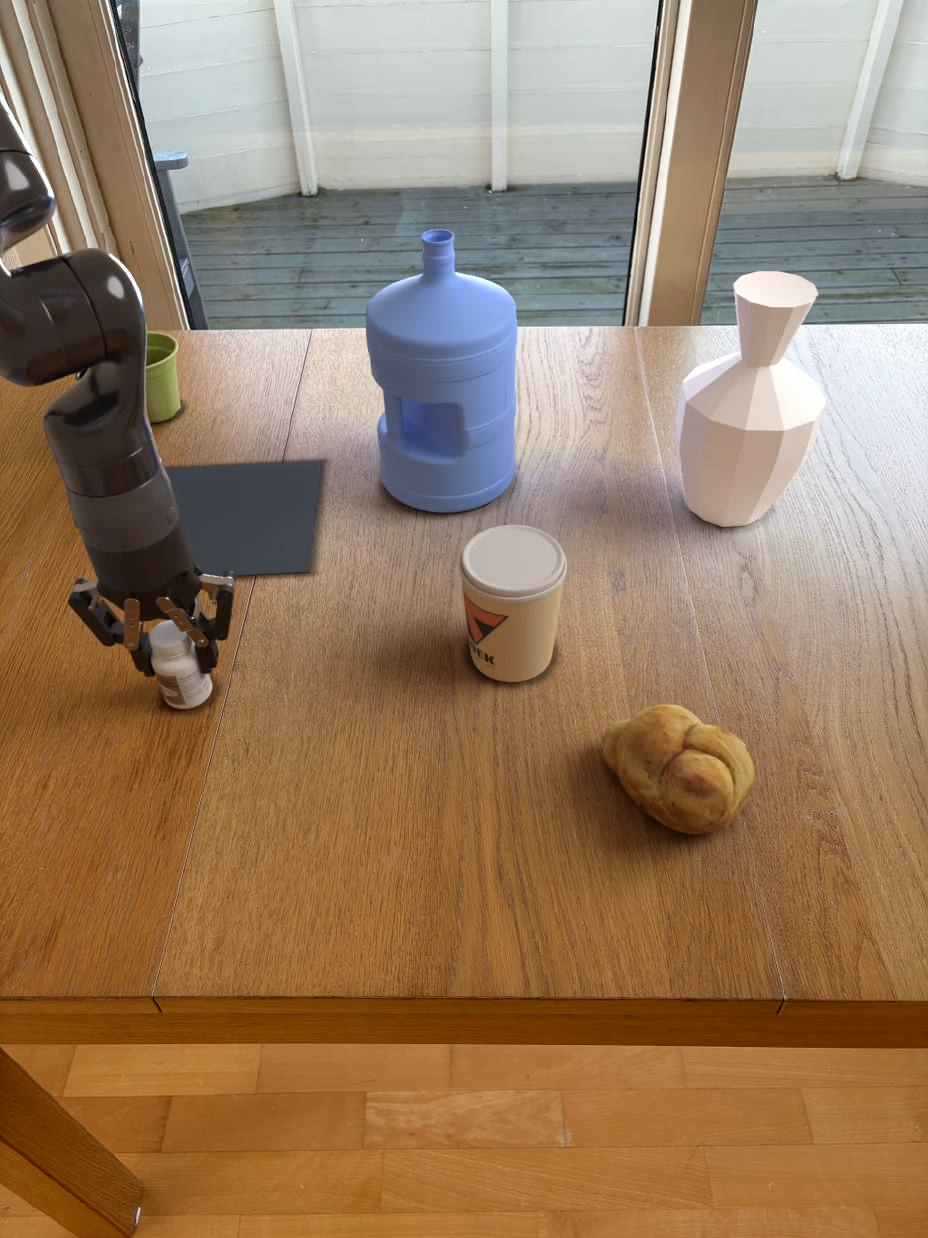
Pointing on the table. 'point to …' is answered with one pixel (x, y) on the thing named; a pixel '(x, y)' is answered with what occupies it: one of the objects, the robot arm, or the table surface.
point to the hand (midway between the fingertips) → (180, 668)
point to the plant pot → (161, 377)
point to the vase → (750, 407)
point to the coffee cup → (512, 600)
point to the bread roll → (680, 768)
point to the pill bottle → (178, 667)
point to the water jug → (444, 383)
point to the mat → (249, 516)
